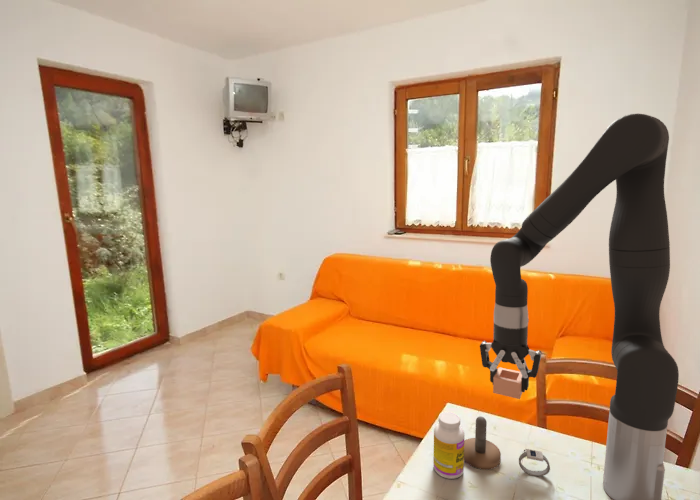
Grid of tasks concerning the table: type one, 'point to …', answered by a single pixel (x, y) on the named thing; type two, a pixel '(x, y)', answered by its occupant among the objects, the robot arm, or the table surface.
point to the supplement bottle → (448, 446)
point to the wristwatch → (535, 456)
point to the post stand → (481, 449)
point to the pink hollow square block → (507, 383)
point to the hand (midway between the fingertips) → (509, 387)
